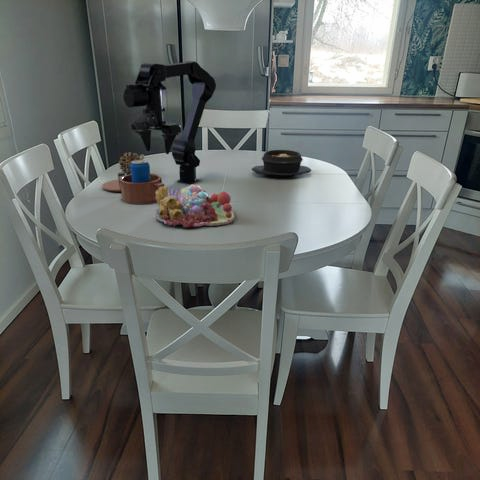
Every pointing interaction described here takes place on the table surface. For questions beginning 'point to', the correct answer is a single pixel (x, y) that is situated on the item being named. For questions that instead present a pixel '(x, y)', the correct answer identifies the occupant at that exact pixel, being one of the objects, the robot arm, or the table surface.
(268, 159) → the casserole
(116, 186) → the pot lid
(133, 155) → the pine cone
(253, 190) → the table surface
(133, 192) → the pot
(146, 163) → the beverage can
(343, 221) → the table surface
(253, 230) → the table surface
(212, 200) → the candy landscape model
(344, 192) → the table surface
